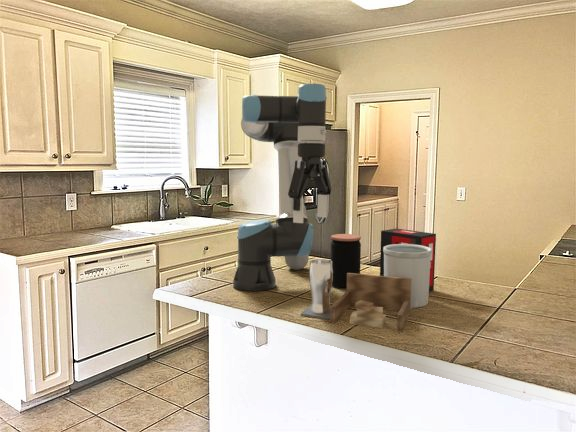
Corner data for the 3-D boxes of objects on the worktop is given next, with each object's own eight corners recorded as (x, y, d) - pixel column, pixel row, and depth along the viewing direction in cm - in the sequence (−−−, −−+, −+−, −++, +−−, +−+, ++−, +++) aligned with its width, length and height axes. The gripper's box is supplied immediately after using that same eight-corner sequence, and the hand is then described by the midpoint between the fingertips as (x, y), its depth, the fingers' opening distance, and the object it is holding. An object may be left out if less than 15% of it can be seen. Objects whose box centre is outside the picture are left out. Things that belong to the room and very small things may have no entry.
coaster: (300, 315, 137) (300, 313, 137) (310, 306, 146) (310, 304, 146) (330, 319, 134) (330, 317, 134) (338, 310, 142) (338, 308, 142)
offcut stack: (349, 323, 131) (350, 303, 130) (354, 318, 135) (354, 298, 135) (382, 328, 127) (383, 307, 127) (385, 322, 132) (386, 301, 132)
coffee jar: (359, 281, 176) (360, 234, 173) (360, 289, 165) (361, 238, 163) (330, 281, 177) (331, 233, 174) (330, 288, 166) (330, 238, 164)
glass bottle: (283, 266, 200) (283, 200, 197) (307, 266, 201) (307, 200, 198) (285, 272, 190) (285, 203, 187) (310, 271, 191) (311, 202, 188)
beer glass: (334, 308, 142) (335, 259, 140) (329, 316, 135) (329, 264, 133) (312, 306, 144) (312, 258, 142) (305, 313, 138) (306, 262, 136)
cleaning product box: (433, 290, 164) (435, 233, 162) (418, 295, 159) (421, 236, 156) (394, 281, 177) (396, 228, 175) (379, 285, 171) (381, 230, 169)
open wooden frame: (330, 322, 132) (331, 287, 130) (347, 303, 149) (347, 272, 148) (401, 332, 125) (402, 295, 123) (410, 311, 142) (411, 278, 141)
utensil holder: (403, 311, 141) (405, 254, 139) (372, 298, 155) (373, 245, 152) (439, 304, 148) (442, 249, 146) (407, 293, 161) (409, 242, 159)
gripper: (300, 141, 116) (299, 226, 119) (343, 143, 137) (342, 216, 140) (274, 141, 120) (274, 224, 123) (320, 143, 141) (319, 214, 144)
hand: (310, 220), depth 131 cm, fingers open, 13 cm apart
